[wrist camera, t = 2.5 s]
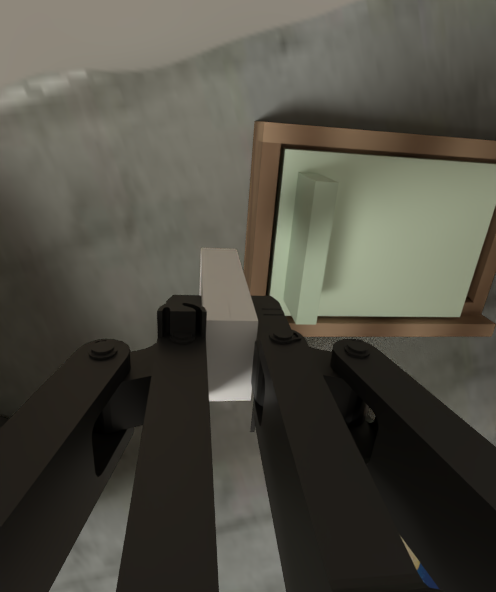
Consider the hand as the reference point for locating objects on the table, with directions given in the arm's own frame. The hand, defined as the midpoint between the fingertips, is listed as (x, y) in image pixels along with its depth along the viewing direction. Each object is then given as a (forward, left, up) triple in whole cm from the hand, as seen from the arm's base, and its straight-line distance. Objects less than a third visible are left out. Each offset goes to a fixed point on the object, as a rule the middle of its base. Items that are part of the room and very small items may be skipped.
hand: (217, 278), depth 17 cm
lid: (+11, 0, -8) cm, 14 cm away
